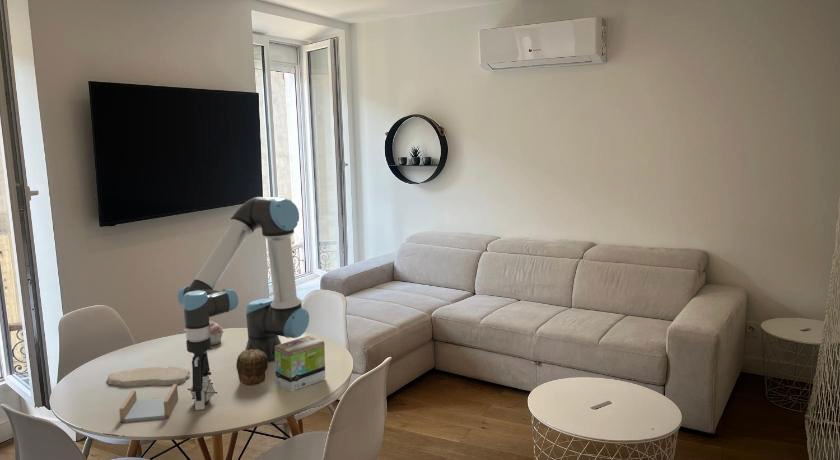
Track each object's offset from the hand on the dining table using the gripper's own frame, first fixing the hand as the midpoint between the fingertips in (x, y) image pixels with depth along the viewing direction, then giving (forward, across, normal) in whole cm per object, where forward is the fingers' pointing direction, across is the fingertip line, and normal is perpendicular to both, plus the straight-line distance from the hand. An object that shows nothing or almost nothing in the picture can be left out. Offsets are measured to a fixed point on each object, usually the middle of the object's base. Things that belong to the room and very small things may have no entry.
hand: (203, 401), depth 209 cm
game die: (0, 0, 0) cm, 0 cm away
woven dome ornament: (0, -14, +15) cm, 21 cm away
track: (0, +3, -16) cm, 16 cm away
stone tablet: (+1, -27, -23) cm, 36 cm away
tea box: (0, -10, +32) cm, 34 cm away
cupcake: (0, -62, -6) cm, 62 cm away
